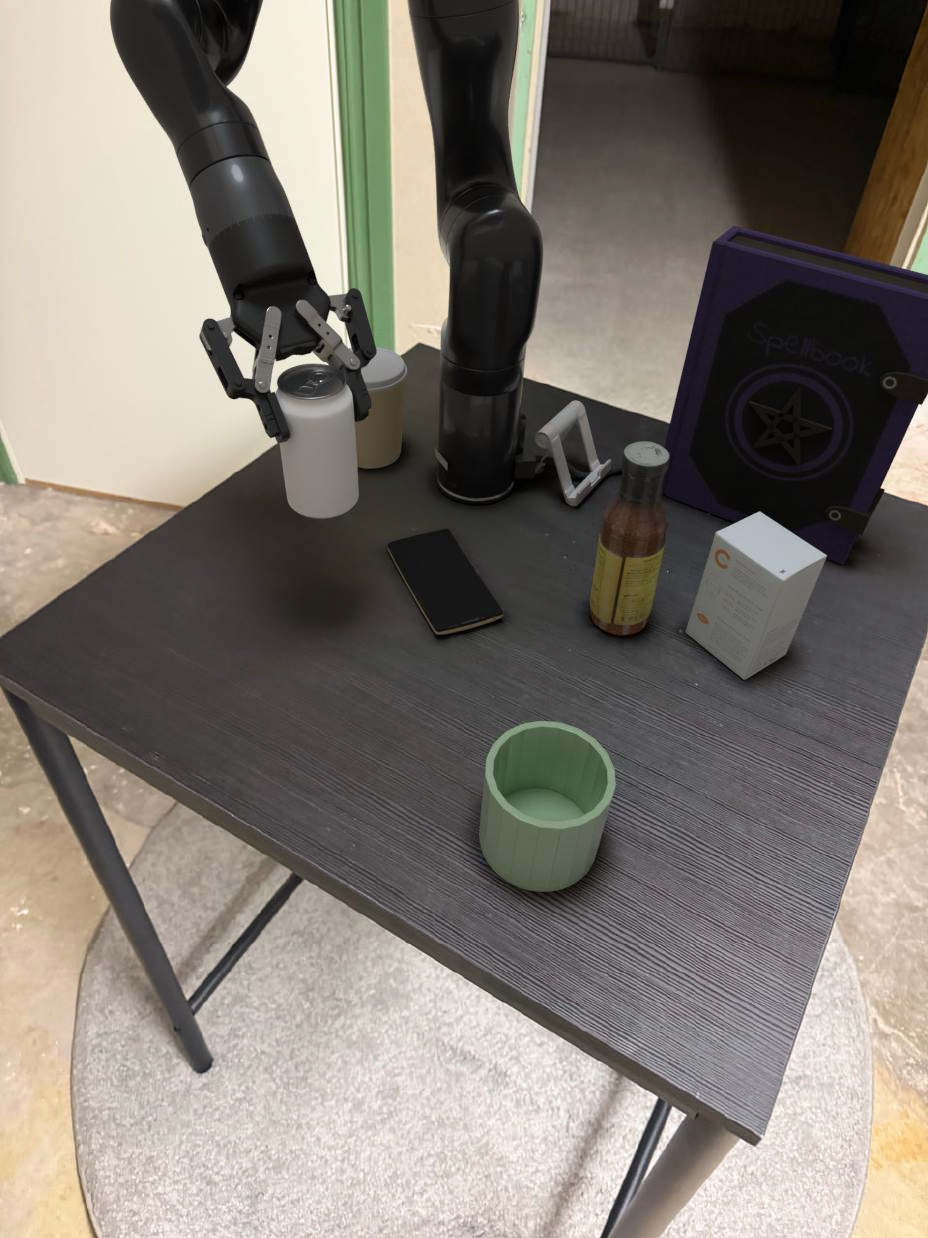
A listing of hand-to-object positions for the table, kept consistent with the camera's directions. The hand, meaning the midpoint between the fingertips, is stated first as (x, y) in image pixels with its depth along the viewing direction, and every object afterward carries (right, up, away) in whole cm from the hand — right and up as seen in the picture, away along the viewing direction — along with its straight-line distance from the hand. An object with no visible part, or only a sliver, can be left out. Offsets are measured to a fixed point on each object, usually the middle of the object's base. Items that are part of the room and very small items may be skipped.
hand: (324, 428), depth 72 cm
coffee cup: (0, +5, +37) cm, 38 cm away
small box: (+39, -18, +15) cm, 46 cm away
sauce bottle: (+27, -16, +17) cm, 36 cm away
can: (-1, -5, +7) cm, 9 cm away
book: (+46, -4, +31) cm, 55 cm away
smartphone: (+9, -12, +20) cm, 25 cm away
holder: (+18, -34, -2) cm, 38 cm away
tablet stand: (+24, +1, +35) cm, 42 cm away
